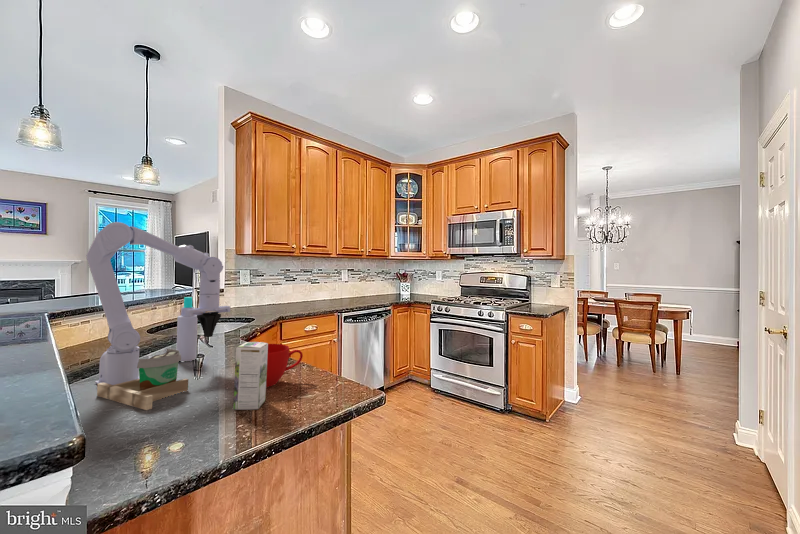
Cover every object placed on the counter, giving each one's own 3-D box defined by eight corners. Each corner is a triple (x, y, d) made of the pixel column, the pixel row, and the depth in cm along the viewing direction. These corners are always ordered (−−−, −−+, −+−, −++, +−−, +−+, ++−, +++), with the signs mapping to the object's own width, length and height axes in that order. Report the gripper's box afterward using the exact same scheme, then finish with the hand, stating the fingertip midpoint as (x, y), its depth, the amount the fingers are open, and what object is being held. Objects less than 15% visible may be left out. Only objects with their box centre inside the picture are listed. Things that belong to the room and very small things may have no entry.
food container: (162, 401, 85) (163, 359, 85) (135, 401, 85) (137, 359, 85) (190, 385, 97) (191, 348, 98) (167, 385, 97) (168, 348, 97)
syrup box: (241, 401, 86) (243, 341, 87) (266, 401, 87) (268, 341, 87) (232, 410, 81) (234, 346, 81) (259, 410, 81) (261, 346, 81)
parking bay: (97, 395, 88) (97, 383, 88) (150, 381, 99) (151, 371, 99) (146, 410, 80) (147, 396, 80) (199, 393, 91) (199, 381, 91)
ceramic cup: (306, 386, 99) (307, 350, 99) (239, 394, 91) (240, 355, 91) (298, 373, 110) (298, 341, 110) (238, 380, 103) (239, 345, 103)
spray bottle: (175, 363, 119) (177, 298, 120) (176, 359, 125) (178, 296, 125) (196, 361, 122) (198, 297, 123) (196, 357, 127) (198, 296, 128)
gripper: (196, 295, 105) (195, 341, 105) (237, 293, 118) (236, 334, 118) (181, 294, 108) (180, 339, 108) (222, 292, 121) (221, 332, 121)
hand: (208, 336), depth 113 cm, fingers closed
